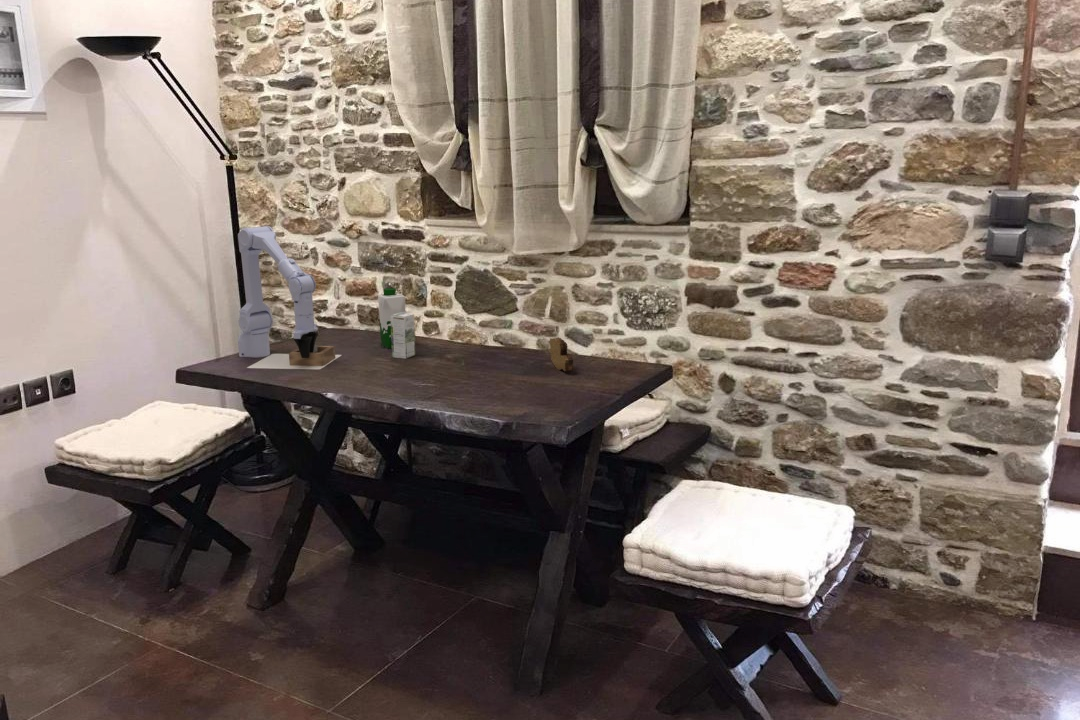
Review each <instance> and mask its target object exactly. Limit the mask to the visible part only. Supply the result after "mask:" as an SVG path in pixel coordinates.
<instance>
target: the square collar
mask: <svg viewBox="0 0 1080 720" xmlns="http://www.w3.org/2000/svg"><path fill="white" fill-rule="evenodd" d="M335 348H336V346H335V345H328V346H327V345H317V351H318V353H315V352H310V353H309V358H302V357H301V354H300V351H299V348H298V347H297V348H295V349H293V350H292V351H290V352H288V354H289V362H290V365H291V366H324V365H326V364H327V363H329V362H330V361H332V360H333V359H335V355H336V349H335ZM335 360H336V359H335ZM332 362H333V361H332ZM329 364H330V363H329ZM326 366H327V365H326Z"/></svg>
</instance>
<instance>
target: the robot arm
mask: <svg viewBox="0 0 1080 720" xmlns="http://www.w3.org/2000/svg"><path fill="white" fill-rule="evenodd" d="M237 241H238V248H239V249H238V250H239V253H240V255H241V265H242V267H241V268H242V274H243V275H242V276H243V285H244V293H245V304H244V305H243V306H242V307H241V308H240V310H239V316H238V317H239V318H238V325H239V326H238V327H239V329H240V330H241V332H240V333H239V335H238V338H237V346H238V355H239V358H263V357H264V358H266V357H268V356H269V355H271V349H270V346H271V345H270V339H269V332H270V331H271V328H272V327H273V326H274V325H273V324H274V318H273V315H272V312H271V308H270V307H271V306H269V305H267V304H265V303H264V297H263V288H262V287H263V286H262V280H261V279H262V278H261V270H260V269H261V268H260V259H259V258H260V257H259V256H260V254H261V253H262V251H265V252H266V253H267V255H269V256H270V258H272V259H273V261H275V262H276V264H277V271H278V272H279V273H280V274H281V276H282V277H283V278H284V279H285V281H286V282H287V283H288V290H289V293H290V294H291V295H290V296H291V299H292V301H293V308H294V309H293V310H294V321H295V323H294V325H295V327H294V332H293V333H292V334H293V335H292V336H293V337H292V338H293V341H294V342H295V344H296V345H297V348H299V351H300V354H301V357H302V358H309V353H310V352H313V351H314V344H315V343H316V340H317V339H318V338H317V337H318V336H319V332H317V331H318V330H319V327H317V325H318V324H317V323H315V315H314V300H313V299H314V298H313V293H314V292H315V291H316V288H317V287H316V281H315V279H314V277H313V275H311V274H308V273H306V272H304V271H303V269H302V268H301V267H300V266H299V265H298V264H297V262H296V260H295V259H293V258H291V257H290V258H289V257H287V255H286V253H285V252H284V250H283V249H282V247H281V246H280V244H279V243H278V242H277V234H276V232H275V231H274V229H273V228H272V227H271V226H269V225H265V226H255V227H243V228H241V229H240V230H239V232H238V233H237ZM315 345H316V344H315Z"/></svg>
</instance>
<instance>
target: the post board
mask: <svg viewBox="0 0 1080 720" xmlns="http://www.w3.org/2000/svg"><path fill="white" fill-rule="evenodd" d="M317 346H318V345H317V344H314V351H313V352H315V353H318V351H317ZM341 356H342V354H335V359H333V360H332V361H330V362H329V363H327V364H326V365H324V366H291V365H290V362H289V353H270V355H268V356H265V357H264V358H262V359H261V360H259V361H257V362H255V363H253V364H251V365H249V366H247V367H246V369H271V370H272V369H277V370H281V369H282V370H321V369H323V368H325V367H326V366H327V365H330V363H332V362H334V361H335V360H337V359H339V358H340V357H341Z"/></svg>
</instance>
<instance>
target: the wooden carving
mask: <svg viewBox="0 0 1080 720" xmlns="http://www.w3.org/2000/svg"><path fill="white" fill-rule="evenodd" d="M549 347H550V348H549V349H548V352H549V353H550V359H551V363H552V364H553V365H554V366H555V368H556V369H557V370H559V371H561V370H562V371H564V372H568V371H572V370H573V366H574V358H573V356H572V354H570V353H568V348H569V347H568V344H567V341H565V340H564V339H562V338H561V337H559V336H558V337H553V338H551V337H550V338H549Z"/></svg>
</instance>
